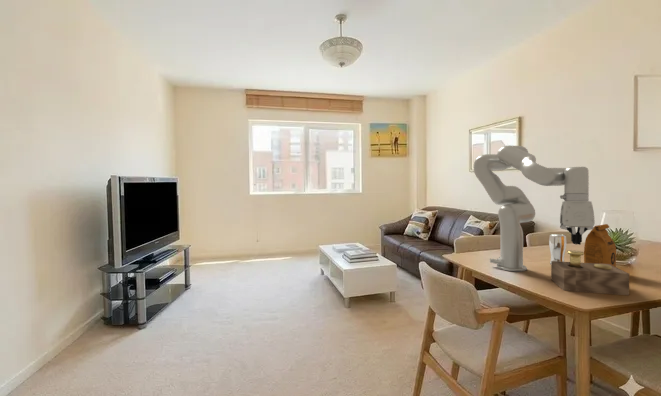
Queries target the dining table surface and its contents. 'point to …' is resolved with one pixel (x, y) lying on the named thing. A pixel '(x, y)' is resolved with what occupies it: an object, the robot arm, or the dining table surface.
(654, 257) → the dining table surface
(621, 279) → the walnut block
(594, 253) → the coffee package
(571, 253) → the brass peg
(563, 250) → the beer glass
